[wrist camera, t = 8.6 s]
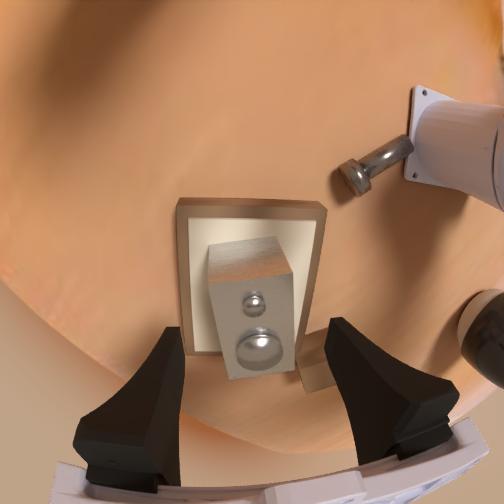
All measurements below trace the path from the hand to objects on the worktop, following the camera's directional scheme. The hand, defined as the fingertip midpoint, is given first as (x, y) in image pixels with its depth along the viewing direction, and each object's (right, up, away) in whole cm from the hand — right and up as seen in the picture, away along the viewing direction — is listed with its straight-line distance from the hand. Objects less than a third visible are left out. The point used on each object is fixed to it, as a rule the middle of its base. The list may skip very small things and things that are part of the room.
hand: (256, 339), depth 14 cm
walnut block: (+6, -5, +14) cm, 16 cm away
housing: (0, +2, +8) cm, 8 cm away
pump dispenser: (+29, -3, +16) cm, 33 cm away
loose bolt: (+9, +11, +7) cm, 16 cm away
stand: (-1, +2, +10) cm, 10 cm away
